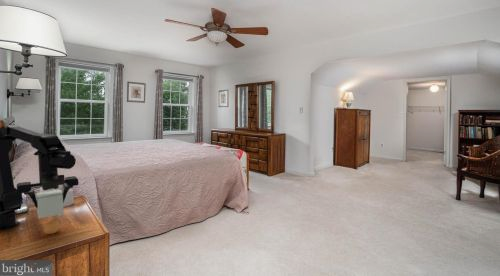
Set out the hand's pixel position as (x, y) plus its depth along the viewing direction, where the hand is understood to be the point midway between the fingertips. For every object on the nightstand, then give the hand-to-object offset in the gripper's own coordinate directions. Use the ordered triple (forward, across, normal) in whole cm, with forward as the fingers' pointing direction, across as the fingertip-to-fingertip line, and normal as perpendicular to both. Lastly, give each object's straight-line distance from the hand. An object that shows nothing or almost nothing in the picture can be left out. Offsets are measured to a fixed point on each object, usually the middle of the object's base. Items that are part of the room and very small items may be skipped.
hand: (50, 205), depth 100 cm
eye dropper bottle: (+12, +9, +33) cm, 36 cm away
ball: (+10, 0, 0) cm, 10 cm away
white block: (+3, 0, +1) cm, 3 cm away
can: (+12, +2, +35) cm, 37 cm away
